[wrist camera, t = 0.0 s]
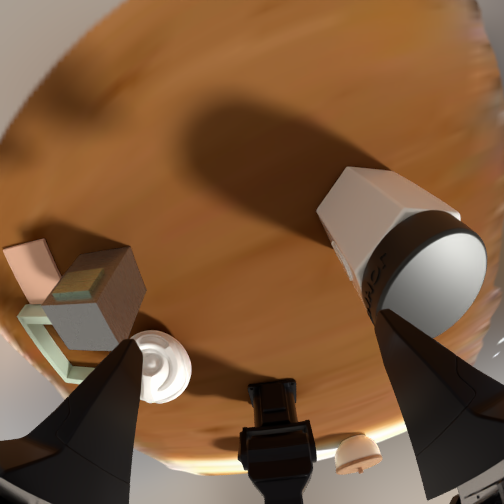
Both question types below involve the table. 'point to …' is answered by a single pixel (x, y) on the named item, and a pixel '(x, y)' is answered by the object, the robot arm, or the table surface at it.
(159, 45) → the table surface
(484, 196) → the table surface
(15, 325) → the table surface
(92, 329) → the grey block
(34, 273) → the terracotta mat
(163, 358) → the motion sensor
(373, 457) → the lidded jar
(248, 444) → the robot arm
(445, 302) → the jar
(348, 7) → the table surface
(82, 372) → the frame
